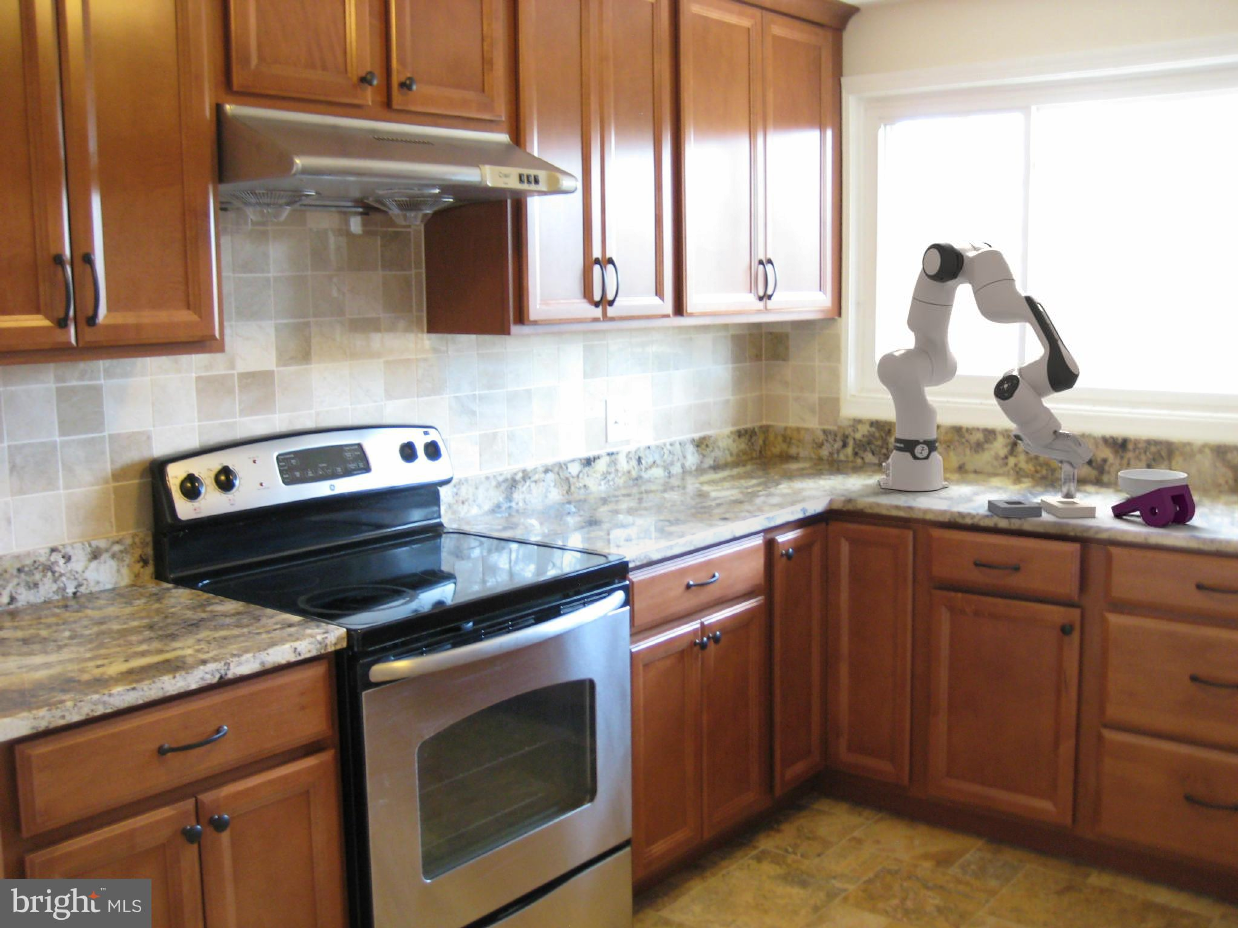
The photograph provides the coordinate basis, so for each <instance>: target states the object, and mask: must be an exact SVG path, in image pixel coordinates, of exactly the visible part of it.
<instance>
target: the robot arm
mask: <svg viewBox="0 0 1238 928" xmlns="http://www.w3.org/2000/svg"><path fill="white" fill-rule="evenodd" d="M921 263H922V267H921V269H920V271H919V274H918V277H917V279H916V282H915V285H914V289H913V292H912V295H911V296H912V297H911V301H910V306H909V310H908V315H907V320H906V325H907V327H908V330H910V331H911V332H912V334H913V335H914V345H913V348H901V349H900V348H899V349H896V350H892V351H890V352H887V353H884V354H883V355H882V356H881V357H880V359H879V360H878V363H877V367H876V369H877V371H876V372H877V377H878V380H879V382H880V383H881V384H882V385H883V386H884V387H885V388H887V390H888V392H889V394H890V397H891V399H892V402H893V405H894V412H895V436H894V438H893V442H892V443H893V445H892V449H893V451H892V453H891V454H890V456H889V458H888V460H887V461H886V462H882V463H881V464H882V466H881V470H882V472H885V475H884V476H883V475H882V476H879V477H878V481H879V485H880V487H881V488H882V489H891V490H898V491H899V490H900V491H909V492H926V491H935V490H936V491H937V490H941V489H943V488H948V487H949V482H947V481H944V463H943V462H944V461H943V460H944V459H943V457H942V456H941V455H940V454H939V453H938V450H939V449H938V448H939V438H938V437H937V430H938V429H937V426H938V425H937V424H938V420H937V419H938V412H937V408H936V407H935V406H934V405H933V404H932V403H930V402H929V400H928V398H927V395H926V389H925V388H929V387H931V388H932V387H938V386H941V385H944V384H947V383H949V382H951V381H952V380H953V379H954V378H955V376H956V374H957V370H958V362H957V358H956V356H955V354H954V353H953V352H952V351H951V348H950V344H949V326H950V321H951V318H952V317H951V316H952V312H953V307H954V302H955V298H956V292H957V289H958V288H959V286H960V285H965V284H969V285H970V286H971V290H972V293H973V297H974V300H975V304H976V306H977V309H978V311H979V313H980V315H981V316H982V317H983V318H984V319H987V320H988V321H989V322H992V323H996V324H997V323H998V324H1004V325H1005V324H1017V323H1024V324H1025V323H1026V324H1027V323H1028V324H1029V326H1031V327H1032V330H1033V331H1034V333H1035V335H1036V337H1037V339H1038V341H1039V343H1040V344H1041V346H1042V348H1043V354H1042V355H1040V356H1039V357H1036V358H1034V359H1032V360H1029V361H1028V362H1025V363H1022V364H1020V365H1017V366H1014V367H1013V368H1011V369H1008V370H1007V371H1005V372H1004V373H1003V375H1002V377H1001V378H1000V379H999V380H998V381H997V382H996V384H995V386H994V388H993V396H994V398H995V401H996V404H997V405H998V406H999V408H1000V409H1001V411H1002V412H1003V414H1004V415H1005V416H1006V418H1007V419H1008V420H1009V421H1010V422H1011V423H1012V424H1013V425H1015V428H1014V429H1013V430H1012V432H1011V434H1010V436H1011V437H1012V439H1013V440H1016V441H1017V443H1018V444H1019V445H1020V446H1021V447H1022V448H1023V449H1024V450H1025V452H1027V453H1029V454H1031V455H1034V456H1035V455H1036V456H1041V457H1047V458H1049V459H1051V460H1052V461H1053V462H1055V463H1057V464H1058V466H1059V467H1061V468H1062V461H1063V460H1069V461H1070V462H1072V464H1071V466H1072V467H1073V468H1074V469H1077V471H1078V470H1080V469H1081V468H1082V467H1083V464H1086V463H1087V462H1088V461H1089V460H1090V459H1091V457H1092V456H1093V455H1094V450H1093V448H1091V446H1090V445H1089V444H1088V443H1087V442H1086V441H1085V440H1084V439H1083V438H1082V437H1081V436H1080V435H1078V434H1077V433H1074V432H1069V431H1064V430H1062V423H1061V421H1060V420H1059V419H1058V418H1057V416H1056V415H1055V414H1054V413H1053V411H1052V410H1051V409H1050V408H1049V407H1047V406H1046V405H1044V403H1043V399H1045V398H1048V397H1049V396H1052V395H1054V394H1058V393H1062V392H1064V391H1067V390H1070V389H1071V390H1072V389H1073V388H1074V386H1075V384H1076V383H1077V381H1078V379H1079V377H1080V374H1081V373H1080V368H1079V365H1078V363H1077V361H1076V360H1075V358H1074V357H1073V355H1072V354H1071V353H1070V351H1069V349H1068V348H1067V347H1066V345H1065V343H1064V342H1063V340H1062V338H1061V336H1060V334H1059V333H1058V330H1057V329H1056V327H1055V325H1054V323H1053V322H1052V319H1051V318H1050V316H1049V315H1048V313H1047V311H1046V309H1045V308H1044V306H1043V305H1042V303H1041V302H1040V301H1039V299H1038V298H1037V297H1035V296H1034V295H1033V294H1026V293H1025V292H1024V291H1023V289H1022V288H1021V287H1020V284H1019V281H1018V279H1017V276H1016V274H1015V270H1014V269H1013V267H1012V264H1011V262H1010V260H1009V259H1008V256H1006V253H1005V252H1004V251H1002V250H1001V249H999V247H997V246H996V245H994V244H993V243H992V244H991V243H988V242H978V241H969V240H962V241H938V242H935V243H932V244H930V245H929V246H928V247H927V248H926V250H925V251H924V253H923V257H922V262H921Z"/></svg>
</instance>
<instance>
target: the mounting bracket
mask: <svg viewBox="0 0 1238 928" xmlns="http://www.w3.org/2000/svg"><path fill="white" fill-rule="evenodd" d="M1110 508H1111V512H1112V515H1113V516H1114V517H1115V516H1116V517H1117V516H1125V515H1129V514H1134V513H1138V512H1139V513H1138V514H1139V516H1140V519H1141V520H1142V521H1143V523H1144V525H1146V526H1148V527H1152V526H1153V528H1156V529H1157V528H1164V527H1167V526H1169V525H1170V524H1173V523H1174V524H1175V525H1183V524H1188V523H1190V522H1191V521H1192V519H1194V517H1195V515H1196V503H1195V500H1194V497H1193V495H1192V492H1191V489H1190V485H1189V484H1188V483H1187V484H1185V485H1178V486H1170V487H1163V488H1158V489H1156V490H1153V491H1151V492H1148V493H1145V494H1143V495H1140V496H1137V497H1135V498H1134V497H1132V498H1130V499H1127V500H1125V501H1124V500H1123V501H1122V502H1118V503H1117V504H1114V505H1113V506H1111V507H1110ZM1124 514H1125V515H1124Z"/></svg>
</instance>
